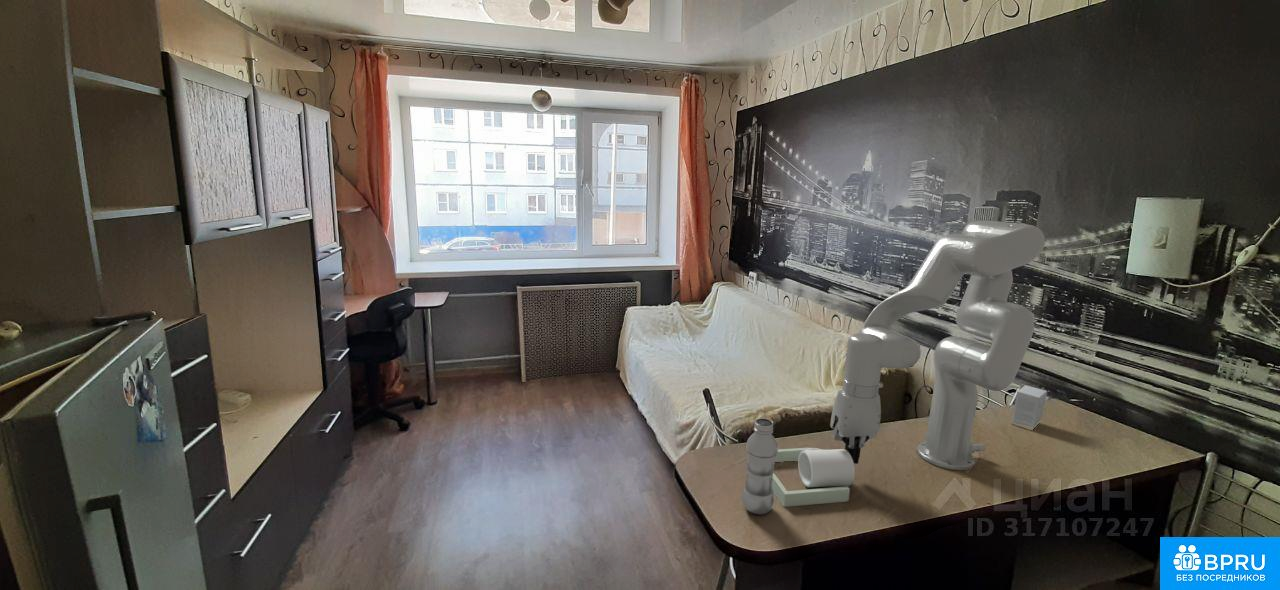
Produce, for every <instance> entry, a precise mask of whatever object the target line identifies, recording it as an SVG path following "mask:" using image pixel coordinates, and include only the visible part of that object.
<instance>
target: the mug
mask: <svg viewBox="0 0 1280 590" xmlns="http://www.w3.org/2000/svg"><path fill="white" fill-rule="evenodd" d="M797 465H798V473H799V474H798V475H799V478H800V481H801V483H802V484H803V485H804V486H805V487H807V488H820V487H821V488H822V487H823V488H828V487H846V486H847V487H849V486H851V485H853V483H854V480H855V478H856V467H855V463H854V462H853V459H852V457H851V455H850V454H849V452H848V451H847V450H845V448H844V449H843V448H840V449H839V448H836V449H833V448H832V449H822V448H817V447H811V448H810V449H807V450H804V451H802V452H801V453H800V455H799V459H798V461H797Z"/></svg>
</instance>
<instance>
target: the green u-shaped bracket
mask: <svg viewBox="0 0 1280 590" xmlns="http://www.w3.org/2000/svg"><path fill="white" fill-rule="evenodd" d="M810 448H812V447H799V448H796V447H795V448H780V449H779V448H778V452H777V456H776V460H775V462H779V461H795V462H798V459H799V455H800V453H801V452H802V451H804V450H807V449H810ZM850 490H851V489H850V487H849V486H833V487H823V488H822V487H821V488H809V489H799V490H787V489H786V488H785V486H784V484H783V483H782V482H781V480H780V479H779V478H778V476H777V475H776V474H775V473H774V472H773V493H774V496H776V498H777V499H778V501H779V502H780V503H781V504H782V507H784V508H785V507H787V508H788V507H797V506H809V505H820V504H821V505H822V504H832V503H833V504H835V503H845V502H849V499H850V492H851V491H850Z"/></svg>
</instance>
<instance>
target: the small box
mask: <svg viewBox="0 0 1280 590" xmlns="http://www.w3.org/2000/svg"><path fill="white" fill-rule="evenodd" d="M1047 394H1048V390H1046V389H1041V388H1038V387H1034V386H1030V385H1028V384H1027V385H1026V384H1025V385H1024V386H1022V387H1021V388H1020V389H1019V390H1018V391H1016V396H1015V401H1014V407H1013V412H1012V418H1011V422H1012V423H1016V424H1021V425H1025V426H1029V427H1033V428H1034V427H1035V426H1036V425H1037V423H1038V422H1039V421H1040V420H1041V421H1042V418H1043V413H1044V410H1045V405H1046V399H1047V396H1048V395H1047Z"/></svg>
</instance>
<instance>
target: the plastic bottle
mask: <svg viewBox="0 0 1280 590" xmlns="http://www.w3.org/2000/svg"><path fill="white" fill-rule="evenodd" d="M753 431H754V432H753V433H752V434H751V435H750V436H749V437H748V439H747V441H746V445H745V446H746V447H745V448H746V460H747V461H746V462H747V463H746V464H747V465H746V467H747V471H746V478H745V479H746V480H745V485H744V488H743V492H742V504H743V506H744V507H745V510H747V511H748V512H749V513H752V514H754V515H765V514H768V513H769V512H770V511H772V509H773V506H774V502H775V494H774V492H773V473H774V471H775V464H776V463H775V460H776V456H777V452H778V450H779V445H778V442H777V440H776V438H775V436H774V435H773V432H774V422H773V421H772V420H770V419H769V418H765V417H763V418H757V419H755V421H754V426H753Z"/></svg>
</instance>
